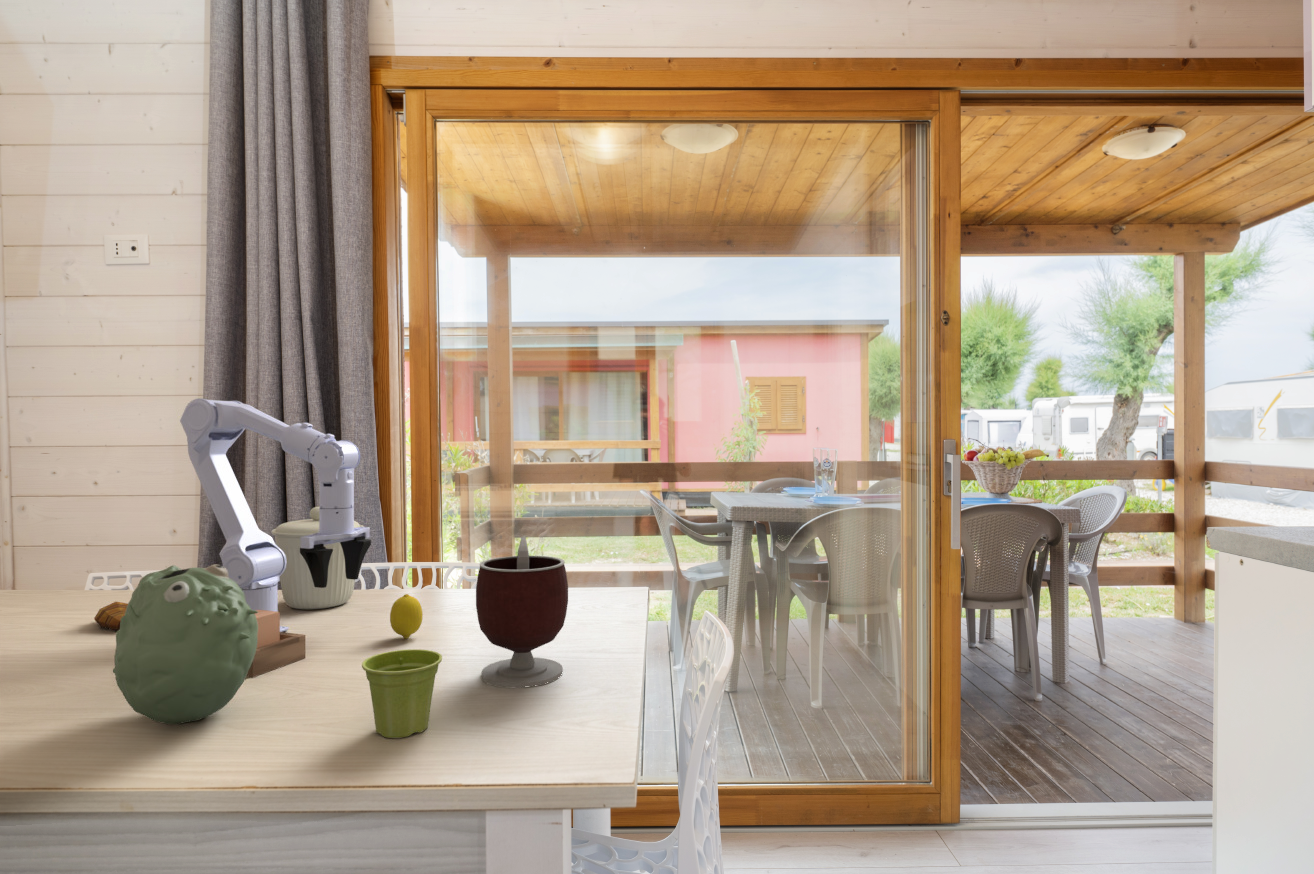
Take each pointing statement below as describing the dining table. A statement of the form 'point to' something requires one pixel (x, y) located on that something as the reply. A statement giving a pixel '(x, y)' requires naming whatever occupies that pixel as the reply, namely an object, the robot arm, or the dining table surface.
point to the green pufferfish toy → (184, 644)
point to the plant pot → (401, 690)
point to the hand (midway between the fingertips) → (336, 582)
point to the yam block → (268, 627)
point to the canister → (297, 572)
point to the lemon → (406, 616)
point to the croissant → (111, 616)
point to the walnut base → (278, 654)
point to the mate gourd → (521, 614)
